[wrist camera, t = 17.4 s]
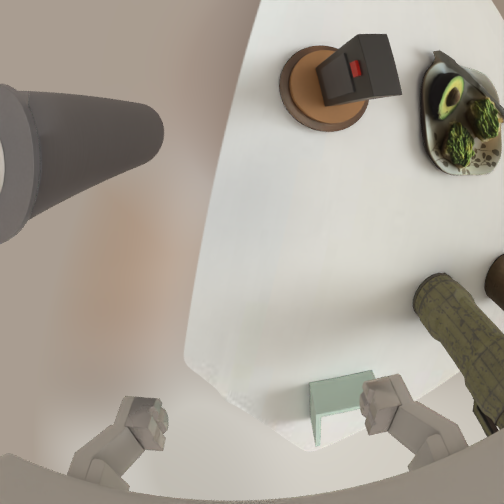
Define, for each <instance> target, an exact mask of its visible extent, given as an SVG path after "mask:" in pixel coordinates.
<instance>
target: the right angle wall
mask: <svg viewBox="0 0 504 504" xmlns="http://www.w3.org/2000/svg"><path fill="white" fill-rule="evenodd" d="M373 379H375V376H374V374H373V372H372V370H370V371H366V372H362V373H357V374H353V375H348V376H343V377H338V378H333V379H328V380H323V381H317V382H311V383H309V384H310V418H311V423H312V429H313V434H314V440H315V445H316V446H320V438H321V417H323V416H329V415H334V414H339V413H343V412H348V411H353V410H357V409H360V401H359V399H360V394H361V393H362V392H363V388H362V386H363V383H364V381H368V380H373Z"/></svg>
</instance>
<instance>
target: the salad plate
mask: <svg viewBox="0 0 504 504" xmlns="http://www.w3.org/2000/svg"><path fill="white" fill-rule="evenodd" d="M433 53H434V56H435V60H434V62H433V64H432V65H431V66H430V67H429V69H428V70H427V72H426V73H425V75H424V77H423V82H422V86H421V128H422V134H423V139H424V145H425V149H426V152H427V154H428V156H429V157H430V159H431V160H432V161H433V163H434V164H435V165H436V166H437V167H438V168H439V169H440V170H442V171H443V172H445V173H447V174H450V175H483V174H489V173H491V172H492V171H493V170H494V169H495V167H496V166H497V164H498V162H499V160H500V157H501V151H502V141H501V124H502V123H504V108H503V107H502V106H501V105H500V102H499V97H498V94H497V91H496V89H495V87H494V86H493V84H492V82H491V81H490V79H489V78H488V77H487V76H486V75H485V74H483V73H481V72H479V71H477V70H474V69H470V68H467V67H463V66H460V65H458V64H457V63H456V62H455V60H453V59H452V58H451V57H449V56H448V55H446V54H445V53H443V52H441V51H434V52H433Z"/></svg>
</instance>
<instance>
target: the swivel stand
mask: <svg viewBox="0 0 504 504" xmlns="http://www.w3.org/2000/svg"><path fill="white" fill-rule="evenodd" d="M319 50H330V51H337V50H338V49H337V48H333V47H329V46H312V47H308V48H305V49H302V50H300V51H299V52H297V53H296V54H294V55H293V56H292V57H291V58H290V59H289V60H288V62H287V63H286V64H285V66H284V68H283V70H282V73H281V76H280V84H279V87H280V94H281V98H282V101H283V103H284V105H285V107H286V109H287V110H288V111H289V113H290V114H291V115H292V116H293V117H294V118H295V119H296V120H297V121H298V122H300V123H301V124H303V125H305V126H307V127H309V128H311V129H314V130H318V131H326V132H333V131H339V130H343V129H345V128H348V127H350V126H351V125H353V124H354V123H356V122H357V121H358V120H359V119H360V118H361V117H362V115H363V114H364V112H365V110H366V108H367V105H368V101H369V100H365V102H364V105H363V106H362V108H361V110H360V111H359V112H358V113H357V114H356V115H355V116H354V117H352V118H351V119H349V120H347V121H344V122H341V123H322V122H318V121H315V120H313V119H311V118H309V117H308V116H306V115H305V114H304V113H303V112H302V111H301V110H300V109H299V108H298V107H297V106H296V104H295V102H294V101H293V98H292V96H291V93H290V87H289V81H290V76H291V72H292V70H293V68H294V67H295V65H296V64H297V63H298V61H299V60H300V59H301V58H303V57H304V56H305V55H307V54H309V53H311V52H315V51H319Z"/></svg>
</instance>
